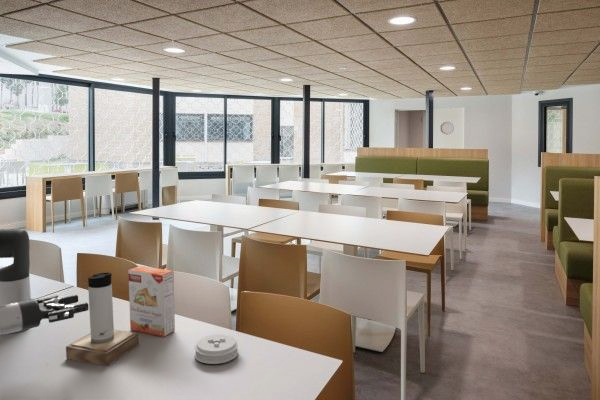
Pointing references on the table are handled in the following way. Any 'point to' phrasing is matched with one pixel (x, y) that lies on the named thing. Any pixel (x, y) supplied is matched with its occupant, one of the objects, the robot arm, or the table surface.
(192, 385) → the table surface
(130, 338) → the walnut riser
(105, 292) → the travel mug
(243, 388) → the table surface
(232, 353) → the lid
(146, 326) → the cracker box
